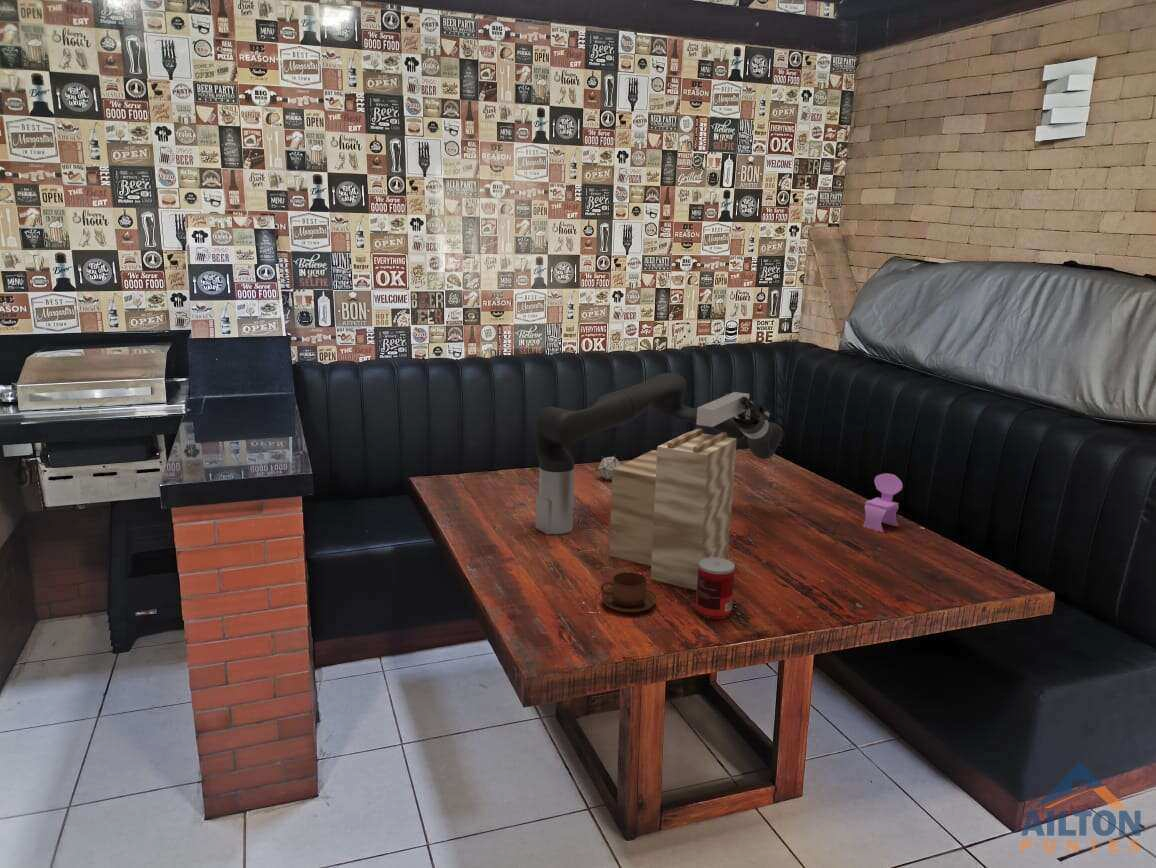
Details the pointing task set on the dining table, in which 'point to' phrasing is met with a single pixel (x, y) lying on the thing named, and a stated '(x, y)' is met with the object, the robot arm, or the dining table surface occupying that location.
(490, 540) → the dining table surface
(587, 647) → the dining table surface
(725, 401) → the bar
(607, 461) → the game die
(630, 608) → the cup and saucer
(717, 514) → the stand
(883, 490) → the toy chair
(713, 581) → the canned food
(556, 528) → the robot arm
